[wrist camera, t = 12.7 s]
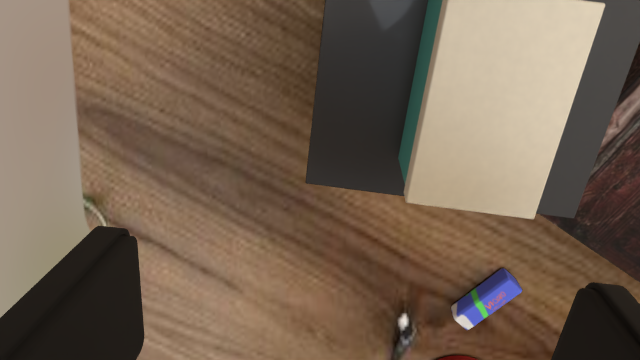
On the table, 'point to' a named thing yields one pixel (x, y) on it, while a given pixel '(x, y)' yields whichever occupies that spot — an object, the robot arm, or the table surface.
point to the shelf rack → (395, 88)
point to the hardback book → (614, 186)
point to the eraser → (485, 299)
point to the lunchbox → (492, 101)
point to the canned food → (457, 358)
